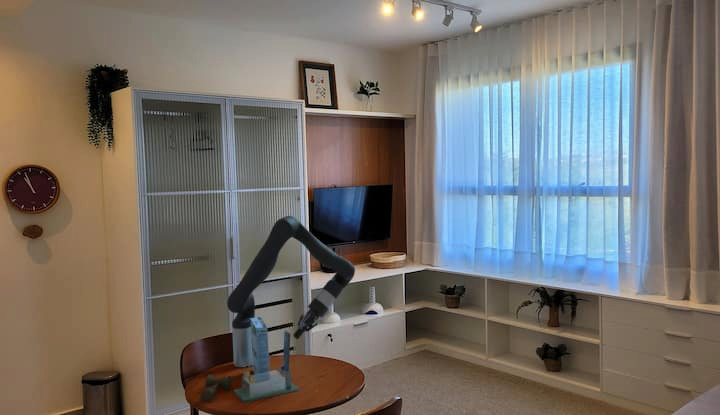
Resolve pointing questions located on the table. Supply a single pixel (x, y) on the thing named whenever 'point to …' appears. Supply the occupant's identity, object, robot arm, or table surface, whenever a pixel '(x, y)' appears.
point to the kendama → (214, 387)
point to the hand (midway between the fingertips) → (295, 337)
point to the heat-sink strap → (286, 351)
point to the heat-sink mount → (265, 385)
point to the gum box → (259, 346)
